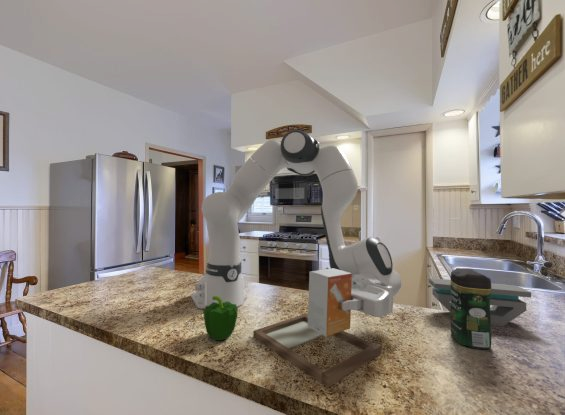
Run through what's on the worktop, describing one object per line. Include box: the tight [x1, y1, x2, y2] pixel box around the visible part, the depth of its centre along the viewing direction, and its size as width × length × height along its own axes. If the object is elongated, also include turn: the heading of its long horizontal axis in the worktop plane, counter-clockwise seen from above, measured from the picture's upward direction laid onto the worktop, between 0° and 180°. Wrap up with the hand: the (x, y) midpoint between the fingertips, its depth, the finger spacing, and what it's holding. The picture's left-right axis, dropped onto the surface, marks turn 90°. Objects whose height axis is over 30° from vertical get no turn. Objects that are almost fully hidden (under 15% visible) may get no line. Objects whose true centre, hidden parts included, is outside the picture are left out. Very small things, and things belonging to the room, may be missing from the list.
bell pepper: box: [203, 296, 239, 341], centre depth 67 cm, size 8×8×10 cm
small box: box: [307, 268, 352, 337], centre depth 60 cm, size 8×6×13 cm
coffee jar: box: [450, 267, 492, 350], centre depth 68 cm, size 10×8×19 cm
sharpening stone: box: [428, 277, 532, 327], centre depth 83 cm, size 25×8×11 cm, turn 73°
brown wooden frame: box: [252, 313, 382, 388], centre depth 64 cm, size 25×19×2 cm
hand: (327, 301), depth 60 cm, fingers closed on small box, 6 cm apart
